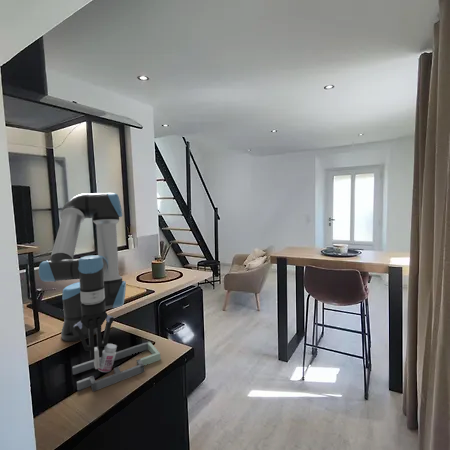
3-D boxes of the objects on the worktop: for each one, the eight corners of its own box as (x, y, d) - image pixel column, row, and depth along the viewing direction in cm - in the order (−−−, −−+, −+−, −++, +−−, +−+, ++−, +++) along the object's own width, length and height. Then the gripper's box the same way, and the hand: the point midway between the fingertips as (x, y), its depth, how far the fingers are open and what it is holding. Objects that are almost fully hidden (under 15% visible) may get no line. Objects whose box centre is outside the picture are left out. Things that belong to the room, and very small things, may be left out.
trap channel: (72, 373, 100) (72, 366, 100) (149, 347, 116) (149, 341, 116) (79, 396, 88) (78, 389, 88) (164, 363, 104) (164, 357, 104)
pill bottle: (103, 374, 97) (109, 350, 98) (94, 368, 100) (101, 344, 100) (114, 370, 101) (120, 347, 102) (105, 364, 104) (112, 342, 104)
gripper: (73, 308, 90) (77, 378, 92) (115, 300, 97) (118, 365, 99) (70, 302, 96) (74, 368, 98) (110, 294, 104) (113, 356, 105)
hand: (96, 366), depth 99 cm, fingers closed
